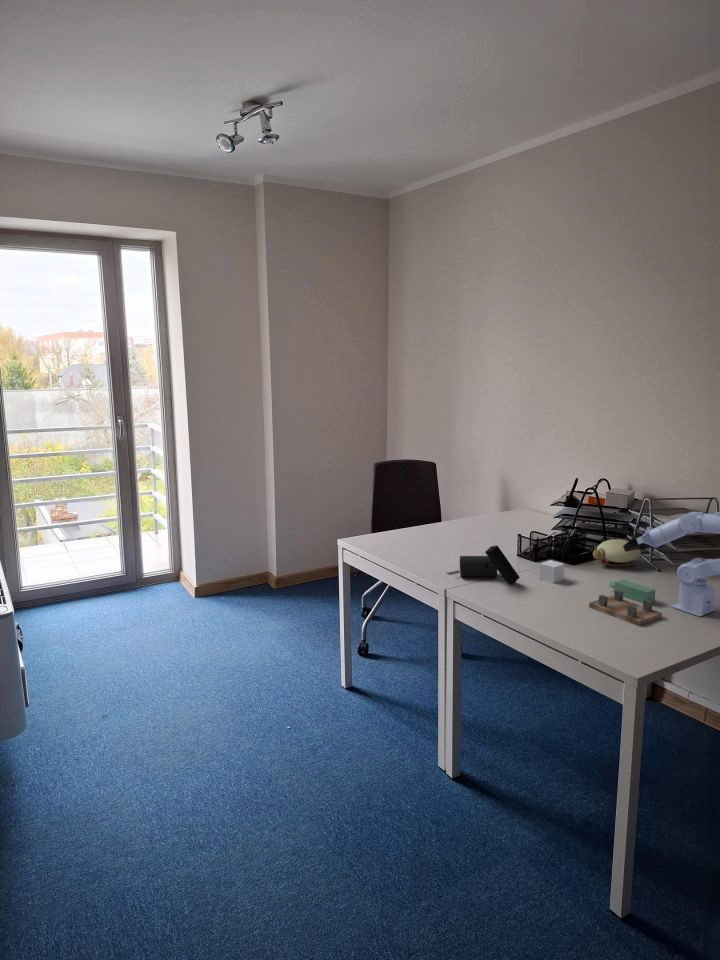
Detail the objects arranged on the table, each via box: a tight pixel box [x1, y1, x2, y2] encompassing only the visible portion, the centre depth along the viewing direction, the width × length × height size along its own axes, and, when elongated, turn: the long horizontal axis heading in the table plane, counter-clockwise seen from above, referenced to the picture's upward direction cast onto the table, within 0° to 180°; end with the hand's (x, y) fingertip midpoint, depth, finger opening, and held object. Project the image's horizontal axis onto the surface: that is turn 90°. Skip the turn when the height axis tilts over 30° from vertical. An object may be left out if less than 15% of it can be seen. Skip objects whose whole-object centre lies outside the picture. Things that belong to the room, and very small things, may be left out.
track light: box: [459, 545, 520, 585], centre depth 236 cm, size 15×14×20 cm
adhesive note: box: [539, 559, 565, 584], centre depth 234 cm, size 6×6×6 cm
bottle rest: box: [588, 590, 663, 627], centre depth 203 cm, size 18×11×4 cm, turn 32°
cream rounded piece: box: [592, 538, 642, 567], centre depth 248 cm, size 9×16×18 cm
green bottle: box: [609, 578, 656, 604], centre depth 216 cm, size 15×4×4 cm, turn 32°
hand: (631, 547), depth 217 cm, fingers open, 7 cm apart
